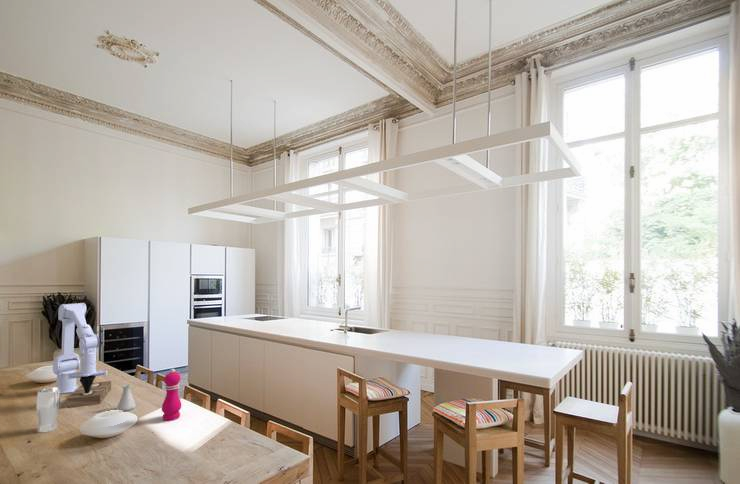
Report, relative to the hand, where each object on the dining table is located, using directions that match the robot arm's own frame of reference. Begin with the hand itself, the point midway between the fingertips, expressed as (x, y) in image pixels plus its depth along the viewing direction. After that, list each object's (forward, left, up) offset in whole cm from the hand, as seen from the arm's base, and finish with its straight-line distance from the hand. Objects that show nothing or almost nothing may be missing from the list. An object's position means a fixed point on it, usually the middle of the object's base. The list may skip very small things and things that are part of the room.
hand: (87, 392), depth 174 cm
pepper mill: (+35, +37, -4) cm, 51 cm away
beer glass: (+28, -6, -4) cm, 29 cm away
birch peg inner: (-12, 0, -4) cm, 13 cm away
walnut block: (-6, 0, -4) cm, 7 cm away
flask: (+16, +18, -4) cm, 24 cm away
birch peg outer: (0, 0, -4) cm, 4 cm away
